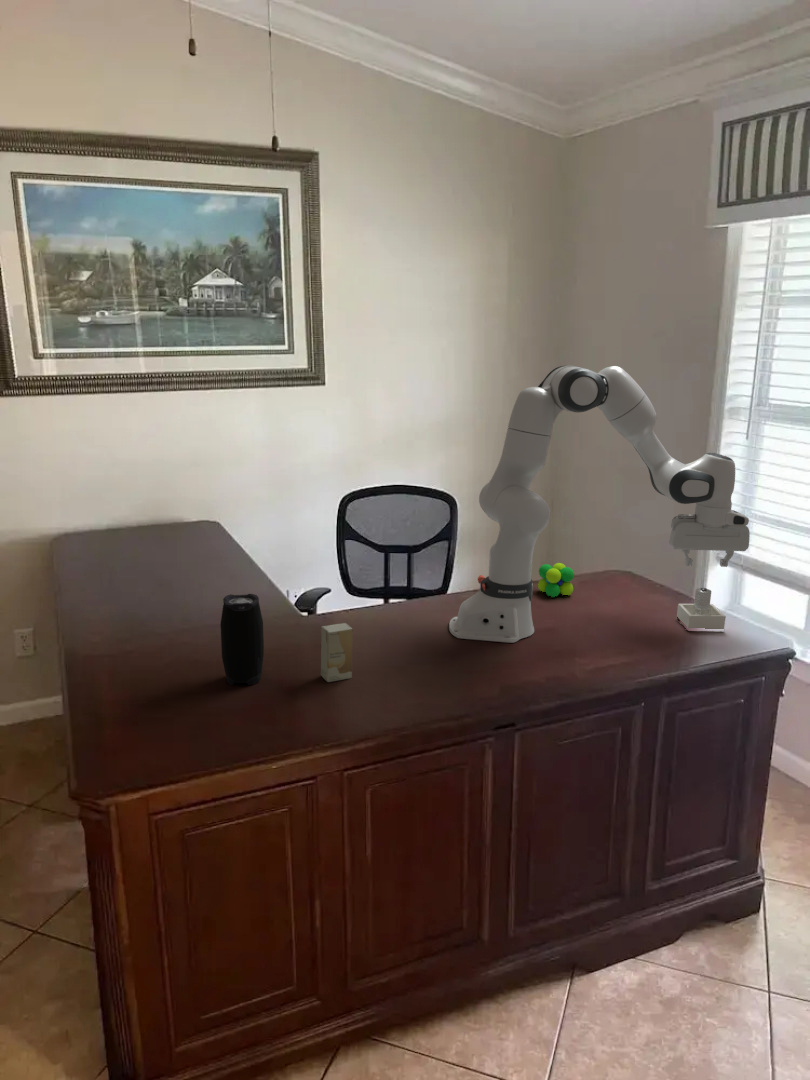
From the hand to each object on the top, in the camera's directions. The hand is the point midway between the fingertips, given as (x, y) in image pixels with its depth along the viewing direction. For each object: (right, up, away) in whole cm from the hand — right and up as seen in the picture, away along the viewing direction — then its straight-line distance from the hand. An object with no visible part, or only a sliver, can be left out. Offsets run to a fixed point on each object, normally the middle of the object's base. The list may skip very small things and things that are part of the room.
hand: (705, 565), depth 229 cm
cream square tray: (0, -16, +5) cm, 17 cm away
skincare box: (-96, -25, -31) cm, 104 cm away
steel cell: (0, -16, +5) cm, 17 cm away
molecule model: (-35, -10, +28) cm, 46 cm away
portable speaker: (-117, -25, -33) cm, 124 cm away
